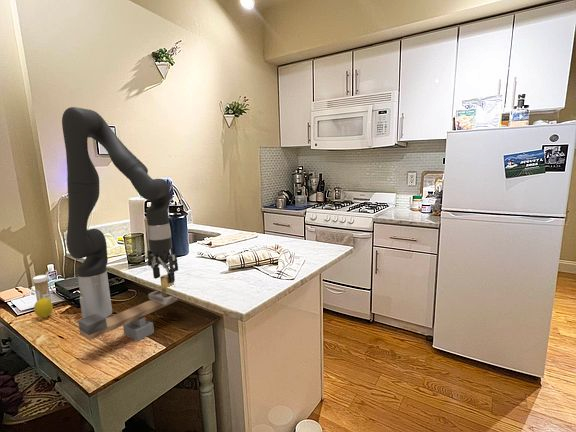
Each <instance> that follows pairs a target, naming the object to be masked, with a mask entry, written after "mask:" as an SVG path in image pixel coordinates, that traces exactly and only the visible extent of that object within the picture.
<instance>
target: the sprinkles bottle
mask: <svg viewBox="0 0 576 432" xmlns="http://www.w3.org/2000/svg"><path fill="white" fill-rule="evenodd" d="M48 279H49V278H48V275H47V274H39V275H35V276H34V277H33V278H32V282H33V285H34V292H35V297H36V302H37V301H38V300H40V299H41V298H46V299H49V300H50V301H51V302H52V298H51V291H50V286H49V281H48Z"/></svg>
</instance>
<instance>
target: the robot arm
mask: <svg viewBox="0 0 576 432" xmlns="http://www.w3.org/2000/svg"><path fill="white" fill-rule="evenodd" d="M61 125H62V126H61V127H62V135H63V139H64V140H63V141H64V147H65V155H66V170H67V171H66V173H67V174H66V176H67V177H66V178H67V179H66V182H67V186H66V187H67V197H68V198H67V201H68V213H67V214H68V216H67V217H68V218H67V219H68V220H67V229H66V230H67V231H66V247H67V251H68V253H69V255H70V256H71V257H72V258H74V259H77V260H79V259H80V260H81V259H83V258H85V259H84V260H83V262H81V264H80V265H78V267H76V275H77V281H78V288H79V294H80V295H79V305H80V310H81V315H82V316H81V317H82V318H85V317H88V316H90V315H93V314H95V313H97V314H98V315H100V316H102V317H104V318H108V317H111V316H112V314H113V307H112V300H111V292H110V283H109V278H108V277H109V276H108V271H107V267H108V266H107V265H108V261H109V260H108V245H107V240H106V237H105V234H104V233H103V232H102V231H101V230H100V229H98V228H90V229H89V228H88V223H89V218H90V216H91V213H92V212H93V210H94V208H95V207H96V205H97V203H98V200H99V197H100V177H99V172H98V170H97V169H96V167H95V165H94V164H93V163H94V162H92V160H91V157H90V154H89V149H88V139H89V138H90V139H91V138H92V139H93V140H95V141H96V142H97V143H99V144H100V145H101V146H102V147H103V148H104V149H105V150H106V152H107V154H108V156H109V158H110V160H111V162H112V164H113V165H114V167H116V169H117V170H118V171H119V172H120V173H121V174H123V176H125V177H126V179H128V180H129V181H130V183H131V185H132V187H134V189H135V190H136V192H137V193H138V194H139V195H140V197H142V198H143V199H144V200H146V201H150V206H149V207H148V208H147V210H146V215H145V216H146V223H147V224H146V225H147V229H146V230H147V231H146V232H147V240H148V248H149V249H148V250H147V251H146V254H147V266H148V267H150V268H151V269H152V273H153V279H155V280H157V279H159V278H160V277H161V271H160V265H161V266H162V268H163V269H165V270H166V272H167V274H166V275H167V276H168V283H173V282H174V283H175V280H176V278H175V276H176V275H175V272H177V271H179V265H178V257H177V254H176V253H173V254H171V249H172V248H173V241H172V240H173V239H172V231H171V226H170V217H169V206H170V198H171V197H170V196H171V189H170V186H169V184H168V182H167V181H166V180H165V179H162V178H154V179H153V178H152V177H151V176H150V175H149V174H148V173H149V172H148V171H149V170H148V168H147V166H146V165H145V164H144V163H143V162H142V161H141V160H140V159H139V158H138V157H137V156H136V155H135V154H133V152H132V151H130V149H128V147H127V146H126V145H125V144H124V143H123V142H122V141H121V139H120V138H119V137H118V136H117V135H116V133H115V132H114V130H113V129H112V128H111V127H110V125H109V124H108V123H107V122H106V120H105V119H104V118H103V117H102V116H101V115H100V114H99V113H98V112H97V111H95V110H93V109H88V108H82V107H77V106H76V107H75V106H71V107H68V108H66V109H65V111H63V113H62V117H61ZM82 318H81V319H82Z"/></svg>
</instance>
